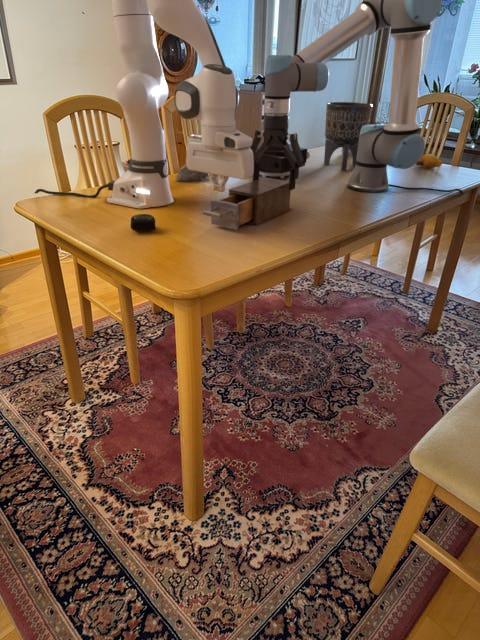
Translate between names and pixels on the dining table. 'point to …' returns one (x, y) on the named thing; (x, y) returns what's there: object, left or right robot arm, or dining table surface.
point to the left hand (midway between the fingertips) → (218, 191)
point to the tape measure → (142, 222)
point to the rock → (190, 175)
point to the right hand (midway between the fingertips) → (273, 186)
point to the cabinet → (265, 197)
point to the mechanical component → (277, 162)
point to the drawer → (231, 211)
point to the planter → (345, 128)
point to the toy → (429, 161)
